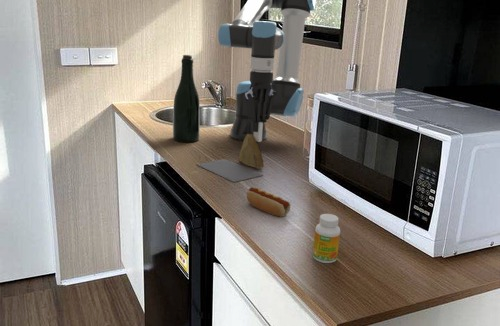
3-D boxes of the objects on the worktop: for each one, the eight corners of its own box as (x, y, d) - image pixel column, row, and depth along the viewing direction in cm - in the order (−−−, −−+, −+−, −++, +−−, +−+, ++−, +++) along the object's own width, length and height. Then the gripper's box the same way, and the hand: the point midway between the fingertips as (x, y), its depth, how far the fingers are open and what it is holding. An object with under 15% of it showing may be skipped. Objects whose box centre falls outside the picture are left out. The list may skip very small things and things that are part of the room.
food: (241, 204, 134) (242, 187, 133) (255, 199, 138) (256, 183, 136) (279, 221, 125) (281, 203, 123) (293, 216, 129) (295, 198, 127)
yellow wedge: (271, 161, 161) (267, 143, 169) (251, 148, 157) (248, 131, 165) (249, 181, 165) (246, 163, 173) (230, 170, 161) (228, 151, 169)
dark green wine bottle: (192, 135, 201) (193, 53, 191) (203, 141, 193) (206, 56, 183) (168, 137, 196) (168, 53, 186) (179, 144, 187) (180, 56, 177)
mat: (224, 159, 172) (224, 158, 172) (262, 175, 158) (263, 174, 157) (196, 165, 164) (196, 164, 164) (234, 182, 150) (234, 181, 150)
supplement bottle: (314, 263, 105) (319, 222, 102) (310, 251, 110) (314, 211, 107) (339, 264, 105) (344, 223, 102) (334, 252, 110) (338, 212, 107)
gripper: (254, 72, 152) (250, 146, 159) (284, 71, 160) (278, 140, 167) (239, 69, 157) (235, 140, 164) (268, 68, 165) (264, 135, 172)
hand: (257, 140), depth 166 cm, fingers closed
